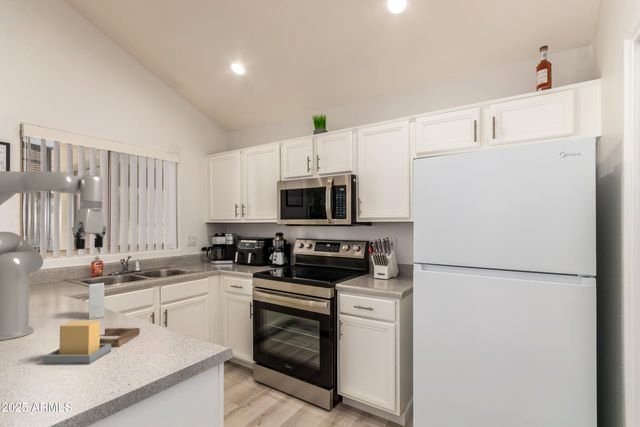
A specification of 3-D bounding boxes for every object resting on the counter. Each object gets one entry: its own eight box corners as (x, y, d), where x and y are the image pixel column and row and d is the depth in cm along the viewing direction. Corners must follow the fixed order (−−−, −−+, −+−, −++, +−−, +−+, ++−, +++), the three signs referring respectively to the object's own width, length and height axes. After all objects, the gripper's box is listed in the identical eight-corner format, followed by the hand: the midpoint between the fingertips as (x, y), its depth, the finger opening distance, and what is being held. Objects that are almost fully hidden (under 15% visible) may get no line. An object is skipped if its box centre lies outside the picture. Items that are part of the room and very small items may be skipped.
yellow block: (57, 358, 99) (58, 325, 99) (69, 352, 104) (70, 321, 104) (88, 358, 99) (89, 325, 99) (99, 351, 104) (100, 320, 104)
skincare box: (104, 317, 145) (104, 284, 146) (87, 319, 142) (88, 286, 143) (104, 313, 152) (105, 281, 153) (88, 315, 149) (89, 283, 150)
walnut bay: (82, 346, 110) (82, 339, 110) (106, 334, 122) (106, 328, 122) (118, 346, 110) (119, 339, 110) (139, 334, 122) (139, 327, 122)
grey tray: (43, 364, 96) (44, 355, 96) (69, 351, 106) (69, 343, 106) (89, 364, 96) (89, 355, 96) (110, 351, 106) (111, 343, 106)
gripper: (97, 207, 139) (96, 246, 138) (64, 204, 122) (62, 249, 121) (114, 207, 139) (113, 247, 138) (83, 204, 121) (82, 250, 121)
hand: (89, 248), depth 129 cm, fingers open, 9 cm apart
